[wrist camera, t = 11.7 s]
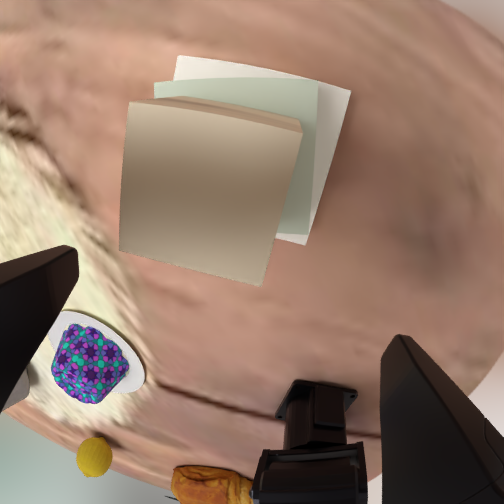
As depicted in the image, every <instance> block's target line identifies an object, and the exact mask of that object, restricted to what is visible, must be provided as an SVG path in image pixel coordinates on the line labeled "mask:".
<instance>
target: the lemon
mask: <svg viewBox="0 0 504 504" xmlns="http://www.w3.org/2000/svg"><path fill="white" fill-rule="evenodd" d="M76 459H77V460H76V461H77V464H78V467H79V469H80V470H81V471H82V472H83V473H84V476H86V477H99V476H102V475H103V474H104V473H105V472H106V471H107V470H108V469H109V467H110V465H111V462H112V450H111V448H110V446H109V445H108V444H107V443H106V441H105V438H103V437H99V438H95V437H92V438H88V439H86V440H85V441H83V442H82V444H81V445H80V447H79V449H78V452H77V458H76Z"/></svg>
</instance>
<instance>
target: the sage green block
mask: <svg viewBox="0 0 504 504" xmlns="http://www.w3.org/2000/svg"><path fill="white" fill-rule="evenodd" d="M175 96H188V97H195V98H201V99H207V100H213V101H219V102H225V103H230V104H235V105H240V106H245V107H250V108H255V109H259V110H264V111H268V112H273V113H277V114H281V115H285V116H289V117H293V118H297V119H299V122H300V125H301V128H302V132H303V136H302V140H301V144H300V147H299V151H298V155H297V159H296V163H295V166H294V170H293V174H292V178H291V181H290V185H289V189H288V192H287V196H286V200H285V204H284V207H283V211H282V215H281V218H280V222H279V225H278V229H277V233H285V234H300V235H308V234H309V223H310V212H311V200H312V187H313V173H314V158H315V142H316V123H317V101H318V80H308V79H291V78H259V77H237V78H205V79H189V80H176V81H165V82H155V83H154V97H155V98H165V97H175Z"/></svg>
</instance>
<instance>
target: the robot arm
mask: <svg viewBox="0 0 504 504" xmlns="http://www.w3.org/2000/svg"><path fill="white" fill-rule="evenodd" d="M78 278H79V263H78V252H77V250H76V249H75V248H73V247H70V246H67V245H61V246H58V247H54V248H51V249H47V250H44V251H40V252H37V253H33V254H30V255H27V256H23V257H20V258H17V259H13V260H10V261H7V262H4V263H0V413H1V412H2V410H3V408H4V406H5V404H6V402H7V400H8V398H9V397H10V395H11V393H12V391H13V389H14V388H15V386H16V384H17V382H18V381H19V379H20V377H21V375H22V374H23V372H24V370H25V369H26V367H27V365H28V364H29V362H30V360H31V359H32V357H33V356H34V354H35V352H36V351H37V349H38V348H39V346H40V344H41V343H42V341H43V340H44V338H45V337H46V335H47V333H48V332H49V330H50V329H51V327H52V326H53V324H54V323H55V321H56V319H57V317H58V316H59V314H60V312H61V310H62V308H63V306H64V304H65V303H66V301H67V299H68V297H69V295H70V294H71V292H72V290H73V288H74V286H75V285H76V283H77V281H78ZM357 396H358V394H357V391H356V390H350V389H344V388H337V387H331V386H325V385H320V384H314V383H309V382H304V381H294V382H293V383H292V385H291V387H290V389H289V391H288V392H287V394H286V396H285V398H284V399H283V401H282V403H281V405H280V406H279V408H278V410H277V412H276V414H275V418H276V419H280V420H285V431H284V445H283V450H270V449H263V452H262V456H261V457H260V459H259V463H258V466H257V470H256V474H255V477H254V481H253V484H252V487H251V489H250V491H249V497H250V498H251V499H252V500H253V504H367V501H368V486H367V472H366V463H365V454H364V446H363V441H361V442H357V443H354V444H347V437H346V418H345V412H346V410H347V409H348V408H349V407H350V405H351V404H352V403H353V402H354V400H355V399H356V398H357ZM380 424H381V445H382V504H504V437H503V436H502V435H501V434H500V433H499V432H498V431H497V430H496V428H495V427H494V426H493V425H492V424H491V423H490V422H489V420H488V419H487V418H484V415H483V414H482V413H481V411H480V410H479V409H478V408H477V407H476V406H475V405H474V404H473V403H472V402H471V400H470V399H469V398H468V397H467V396H466V395H465V394H464V393H463V392H462V390H461V389H460V388H459V387H458V386H457V385H456V384H455V383H454V382H453V381H452V380H451V379H450V377H449V376H448V375H447V374H446V373H445V372H444V371H443V370H442V369H441V368H440V367H439V366H438V365H437V364H436V363H435V362H434V361H433V359H432V358H431V357H430V356H429V355H428V354H427V353H426V352H425V351H424V350H423V349H422V348H421V347H420V346H419V345H418V344H417V343H416V342H415V341H414V340H413V339H412V338H411V337H410V336H406V335H401V334H398V335H396V336H395V337H394V338H393V339H392V341H391V343H390V344H389V346H388V347H387V349H386V350H385V352H384V353H383V355H382V358H381V375H380Z"/></svg>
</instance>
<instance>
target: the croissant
mask: <svg viewBox="0 0 504 504" xmlns="http://www.w3.org/2000/svg"><path fill="white" fill-rule="evenodd" d="M173 470H174V473H173V477H172V483H171V490H172V492H173V494H174V495H175V496H176V498H177V499H178V500H179V501H180V503H181V504H253V500H252V499H251V498H250V497H249V491H250V489H251V487H252V484H253V481H249V480H247V478H244V477H240V476H239V474H238V473H236V472H234V471H227V470H223V469H218V468H210V467H202V466H189V467H186V466H185V467H182V468H181V467H177V468H174V469H173Z"/></svg>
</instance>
